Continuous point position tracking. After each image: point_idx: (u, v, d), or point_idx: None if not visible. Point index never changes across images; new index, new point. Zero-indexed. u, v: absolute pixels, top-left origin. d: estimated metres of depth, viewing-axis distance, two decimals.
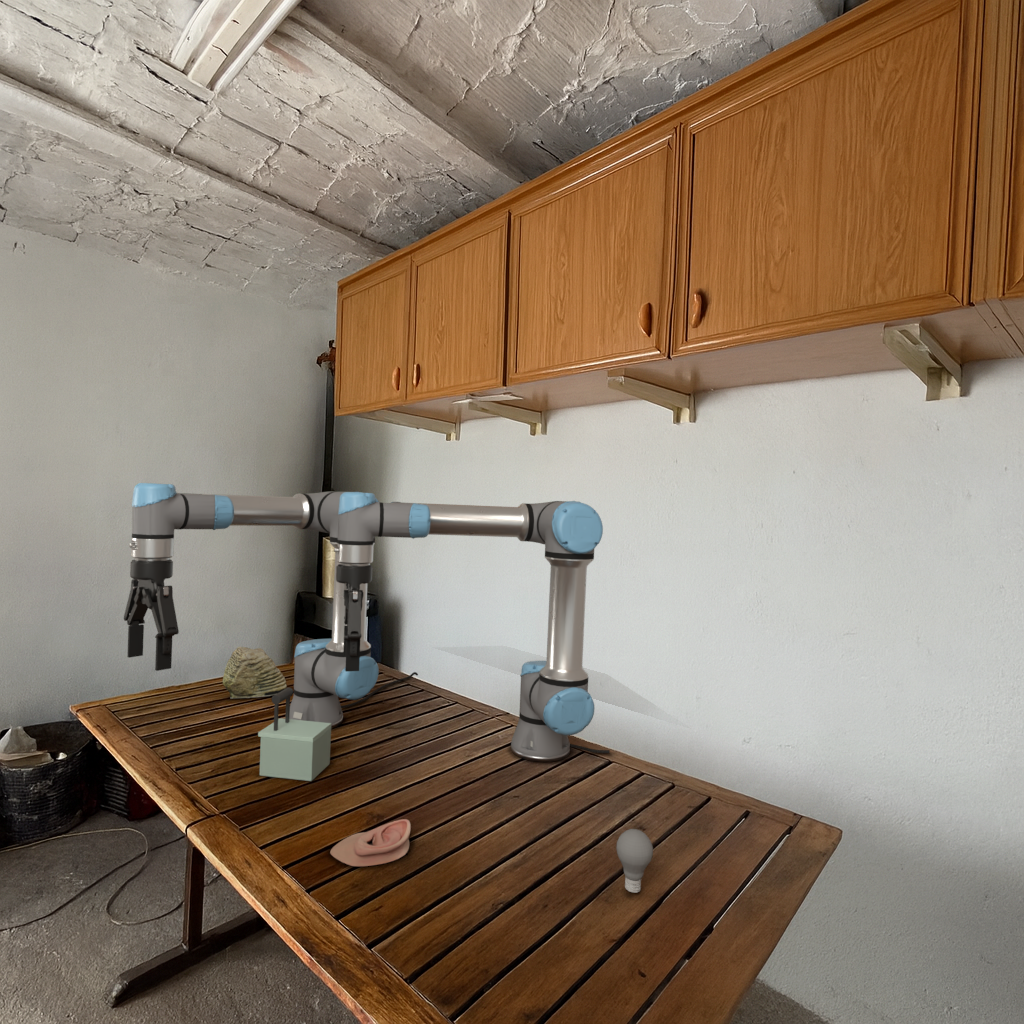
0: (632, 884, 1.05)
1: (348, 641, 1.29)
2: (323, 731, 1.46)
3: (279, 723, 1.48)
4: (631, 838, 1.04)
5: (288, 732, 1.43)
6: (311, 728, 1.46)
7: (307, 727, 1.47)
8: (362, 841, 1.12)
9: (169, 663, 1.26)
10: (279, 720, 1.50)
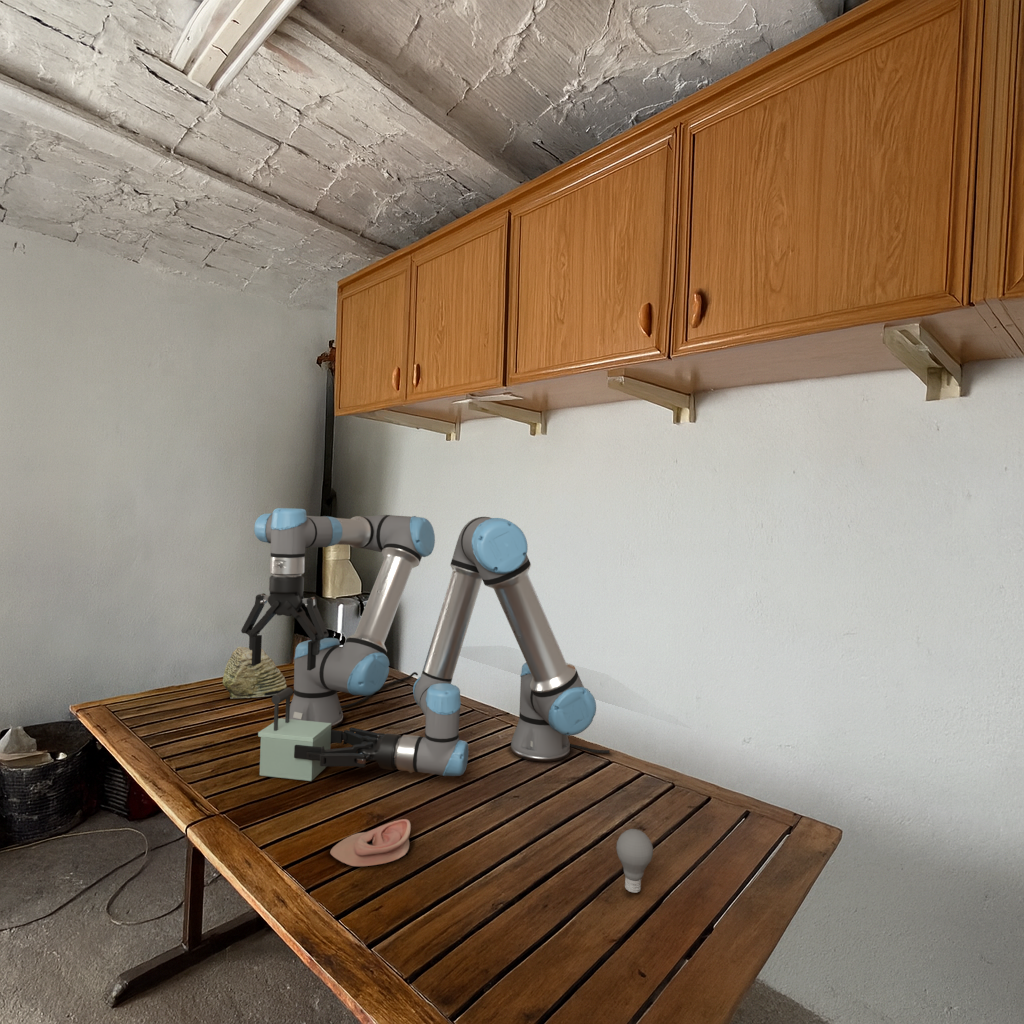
0: (632, 884, 1.05)
1: None
2: (323, 731, 1.46)
3: (279, 723, 1.48)
4: (631, 838, 1.04)
5: (288, 732, 1.43)
6: (311, 728, 1.46)
7: (307, 727, 1.47)
8: (362, 841, 1.12)
9: (314, 663, 1.46)
10: (279, 720, 1.50)
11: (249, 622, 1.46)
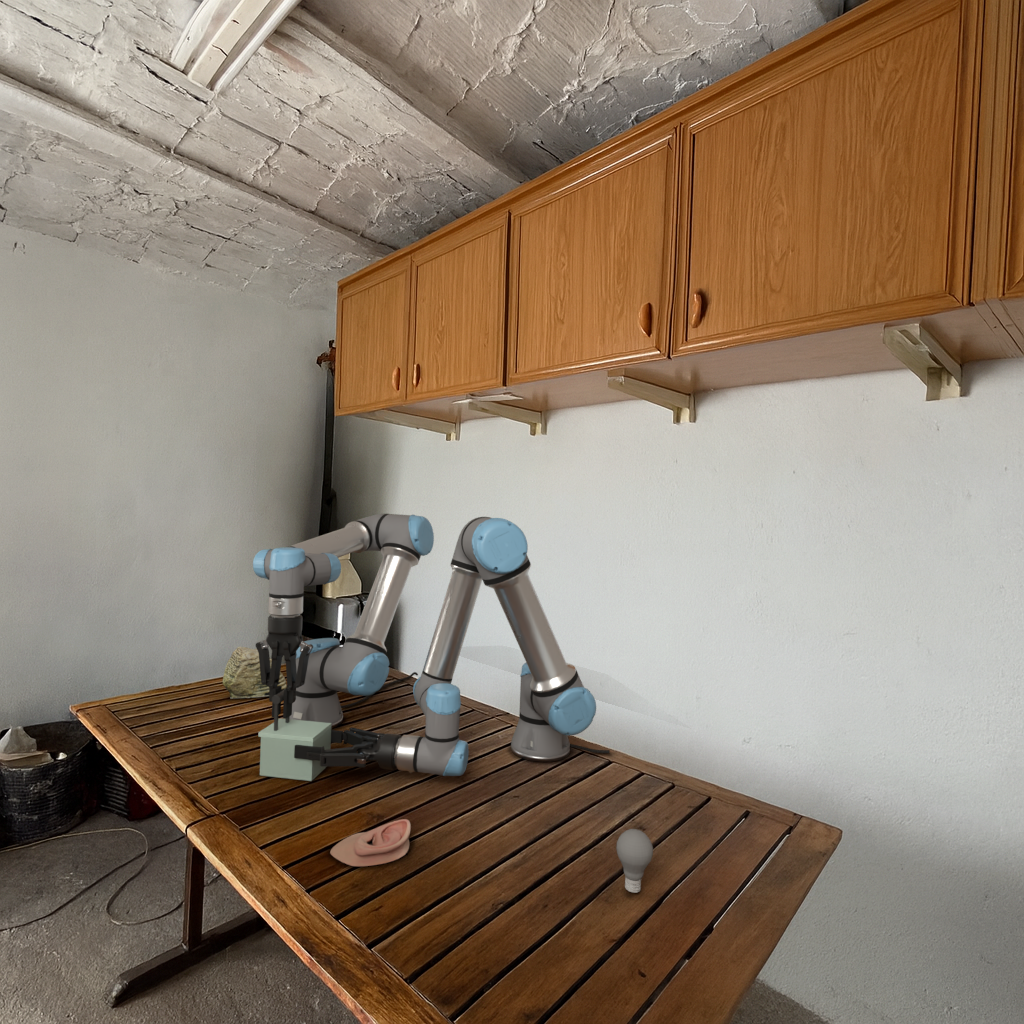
0: (632, 884, 1.05)
1: None
2: (323, 731, 1.46)
3: (279, 723, 1.48)
4: (631, 838, 1.04)
5: (288, 732, 1.43)
6: (311, 728, 1.46)
7: (307, 727, 1.47)
8: (362, 841, 1.12)
9: (291, 710, 1.47)
10: (279, 720, 1.50)
11: (264, 671, 1.46)
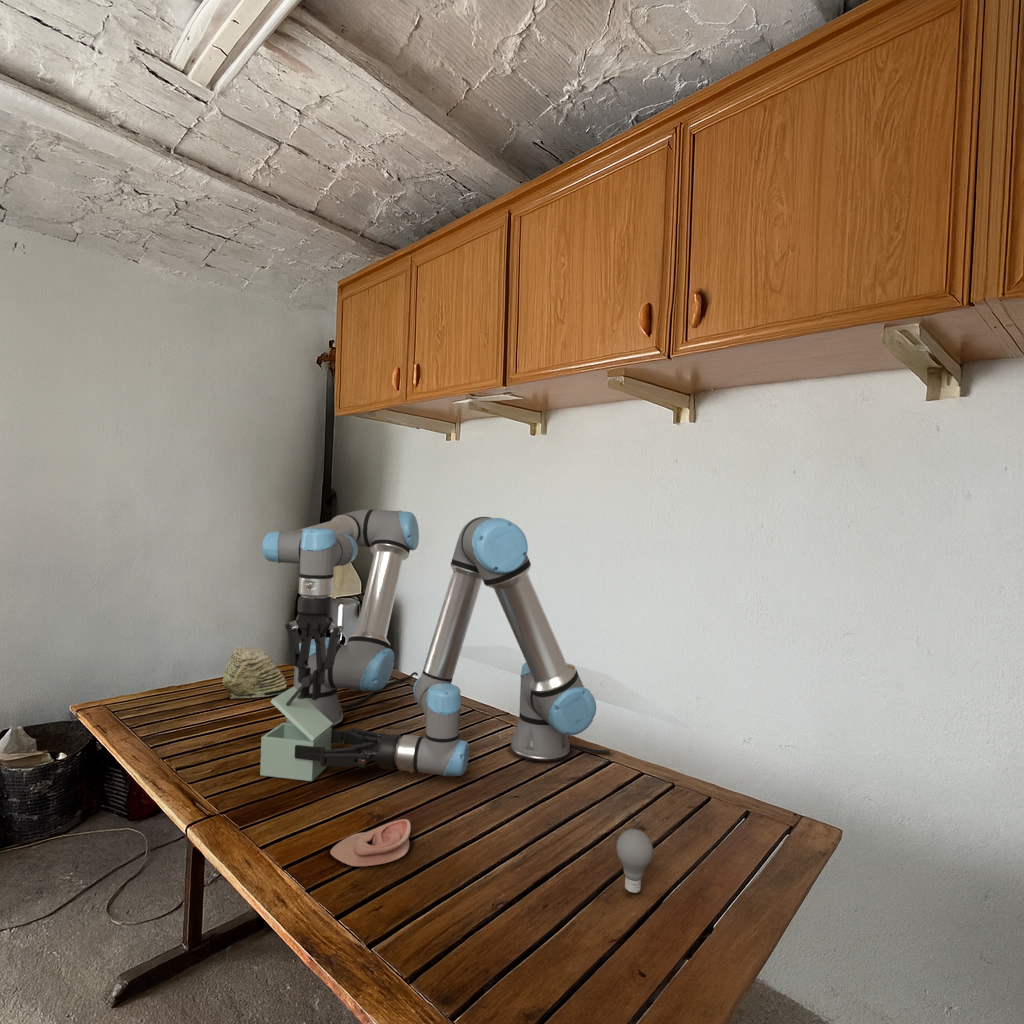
0: (632, 884, 1.05)
1: None
2: (324, 731, 1.46)
3: (292, 695, 1.48)
4: (631, 838, 1.04)
5: (296, 716, 1.43)
6: (316, 721, 1.46)
7: (313, 717, 1.46)
8: (362, 841, 1.12)
9: (319, 692, 1.46)
10: (292, 690, 1.50)
11: (293, 652, 1.45)
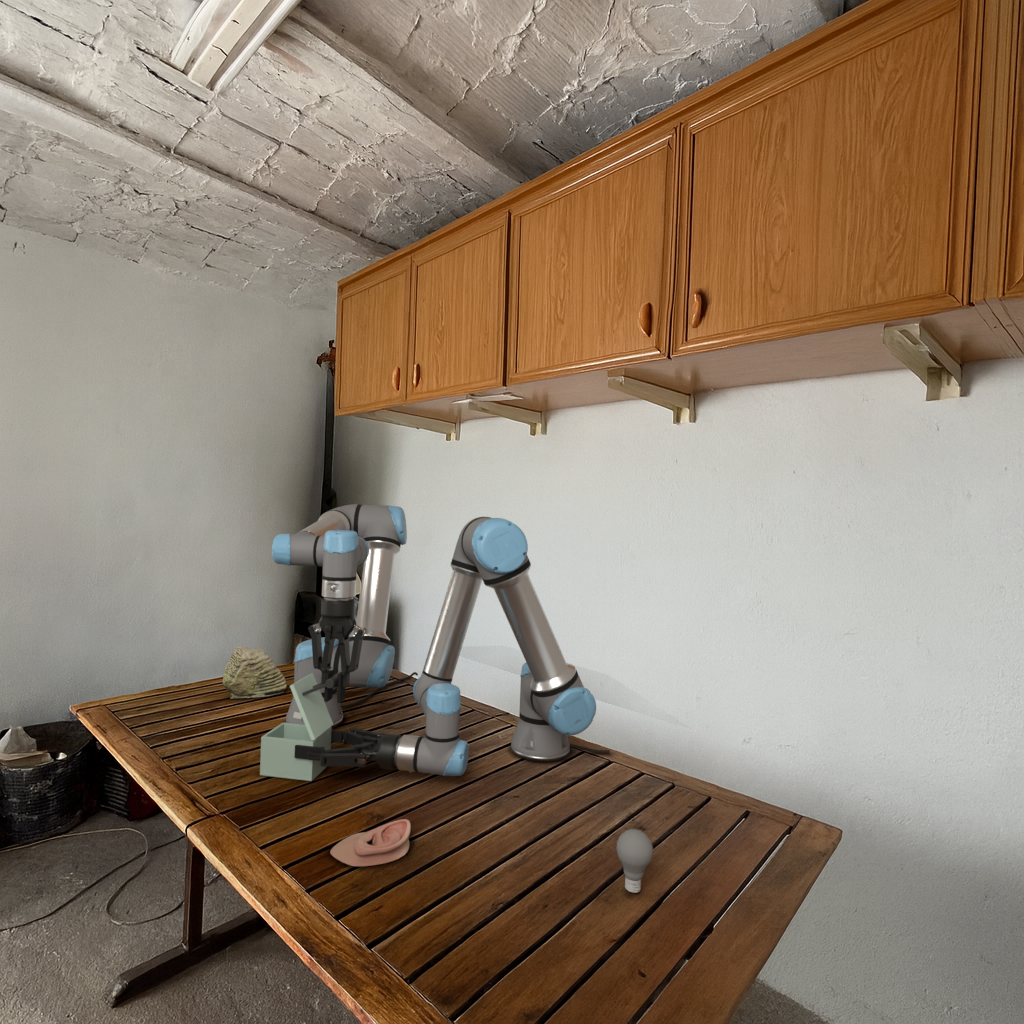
0: (632, 884, 1.05)
1: None
2: (324, 731, 1.46)
3: (309, 684, 1.47)
4: (631, 838, 1.04)
5: (307, 709, 1.42)
6: (320, 719, 1.46)
7: (319, 714, 1.46)
8: (362, 841, 1.12)
9: (344, 695, 1.45)
10: (311, 677, 1.49)
11: (316, 655, 1.44)
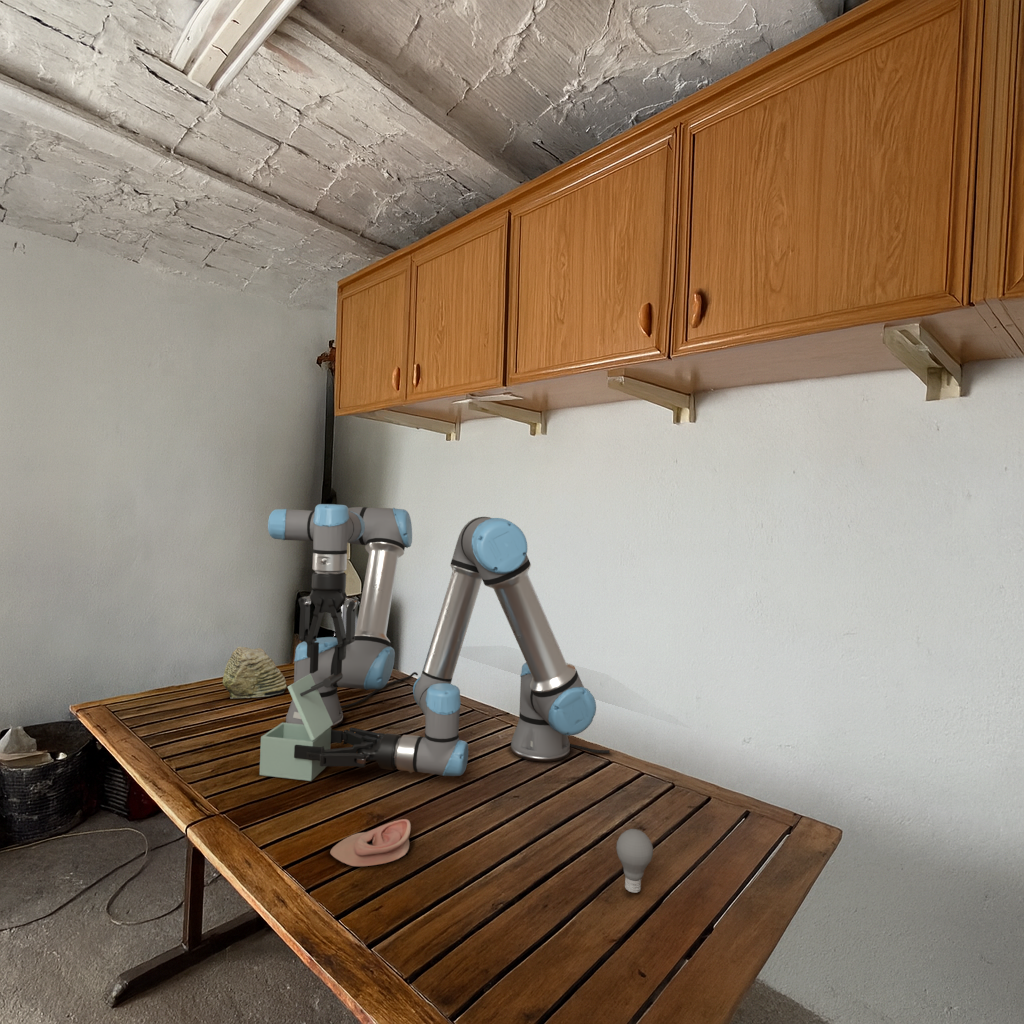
0: (632, 884, 1.05)
1: None
2: (323, 731, 1.46)
3: (307, 684, 1.47)
4: (631, 838, 1.04)
5: (305, 709, 1.42)
6: (320, 719, 1.46)
7: (318, 714, 1.46)
8: (362, 841, 1.12)
9: (341, 668, 1.46)
10: (309, 678, 1.49)
11: (303, 627, 1.44)
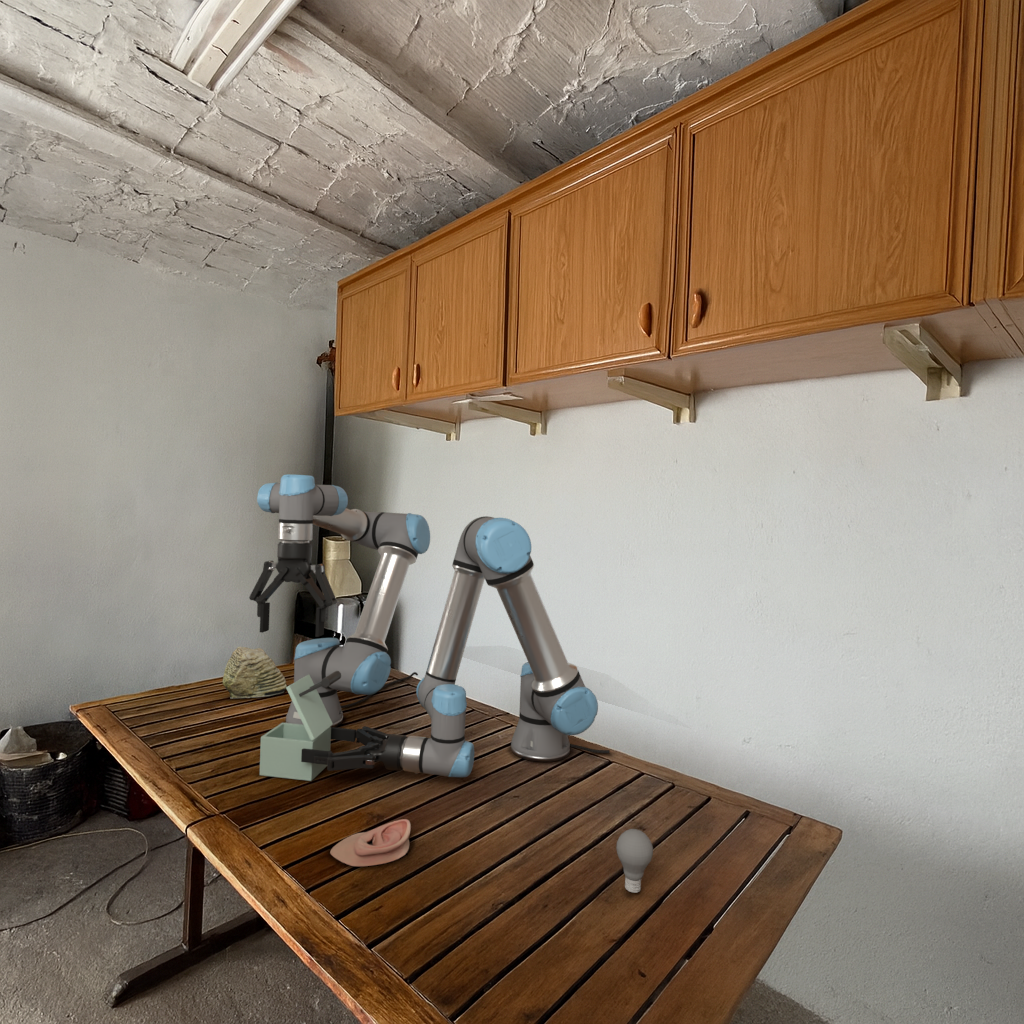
0: (632, 884, 1.05)
1: None
2: (323, 731, 1.46)
3: (306, 685, 1.47)
4: (631, 838, 1.04)
5: (304, 709, 1.42)
6: (319, 719, 1.46)
7: (318, 714, 1.46)
8: (362, 841, 1.12)
9: (323, 630, 1.46)
10: (307, 678, 1.49)
11: (257, 589, 1.46)
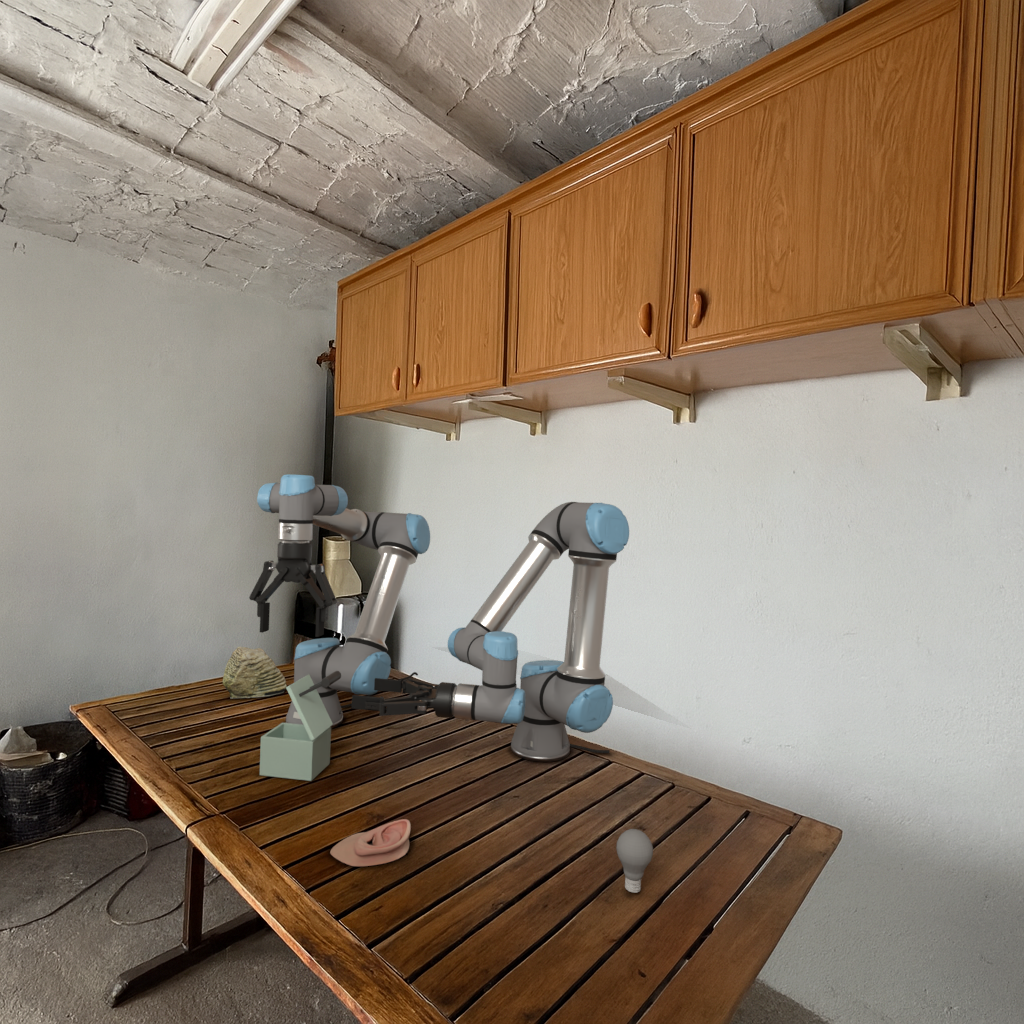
0: (632, 884, 1.05)
1: None
2: (323, 731, 1.46)
3: (306, 685, 1.47)
4: (631, 838, 1.04)
5: (304, 709, 1.42)
6: (319, 719, 1.46)
7: (318, 714, 1.46)
8: (362, 841, 1.12)
9: (323, 630, 1.46)
10: (307, 678, 1.49)
11: (257, 589, 1.46)
